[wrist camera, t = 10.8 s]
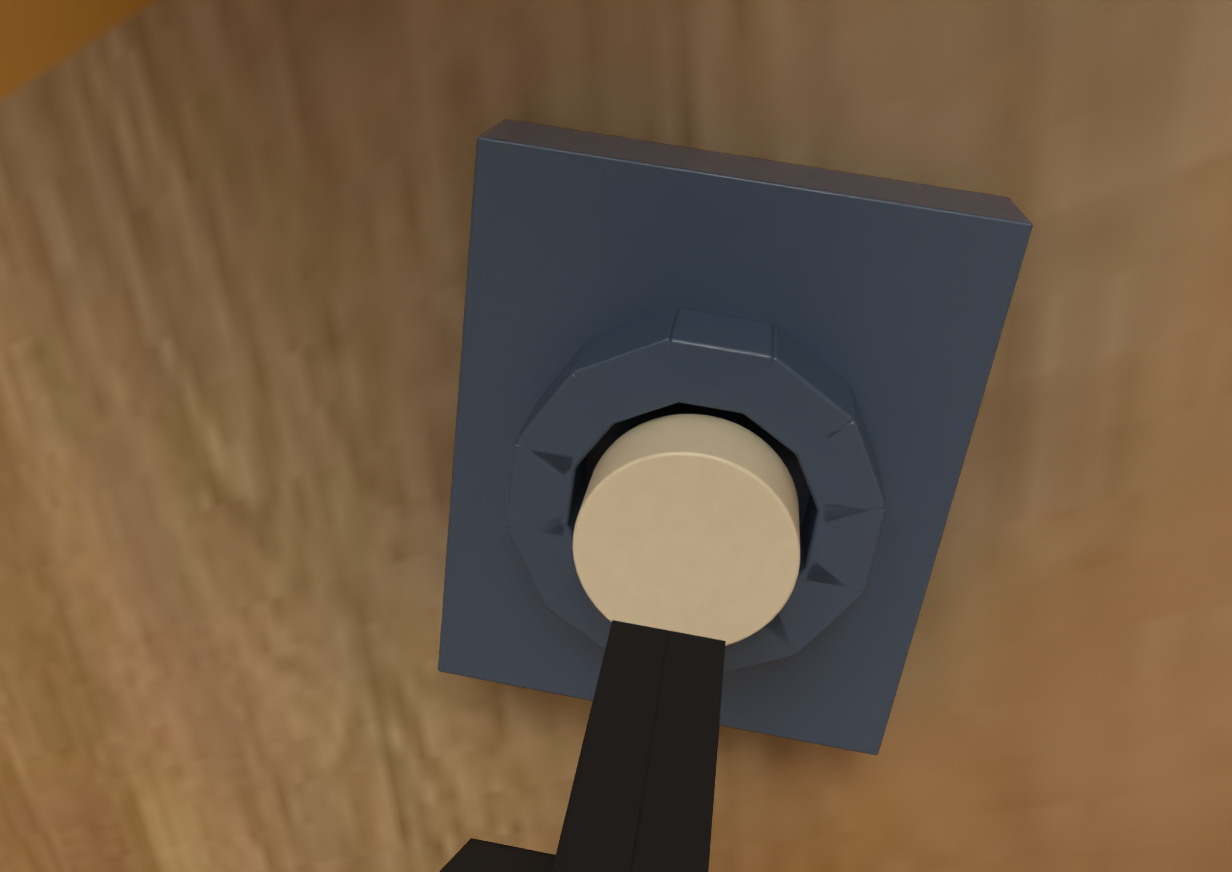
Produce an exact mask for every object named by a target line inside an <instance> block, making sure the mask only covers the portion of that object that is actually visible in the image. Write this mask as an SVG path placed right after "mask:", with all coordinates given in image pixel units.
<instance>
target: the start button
mask: <svg viewBox="0 0 1232 872" xmlns="http://www.w3.org/2000/svg"><path fill="white" fill-rule="evenodd" d="M572 548H573V558H574V563H575V567H576V571H577V574H578V577H579V579H580V582H581V584H582V586H583V588H584V590H585V592H586V593H587V595H588V597H589V598H590V600H591V601H592V602H593V604H594V605H595V606H596V608H597V609H598V610H599V611H600V612H601V613H602V614H603V615H604V616H605V617H606V618H607V619H608V620H610V621H611V622H612V620H615V621H620V622H626V623H631V624H637V625H642V626H648V627H653V628H658V629H664V630H669V631H675V632H680V633H685V634H691V635H696V636H702V637H707V638H713V639H718V640H723V641H726V643H725V646H727V645H730V644H733V643H736V642H738V641H740V640H743V639H745V638H747V637H749V636H751V635H752V634H754V633H756V632H757V631H759V630H760V629H762V628H763V627H764V626H765V625H766V624H768V623H769V622H770V621H771V620H772V619H773V618H774V617H775V616H776V615H777V614H778V613H779V612H780V611H781V609H782V608H783V606H784V605H785V604H786V602H787V601H788V599H789V597H790V595H791V593H792V591H793V589H794V587H795V584H796V580H797V577H798V573H799V566H800V527H799V503H798V497H797V492H796V488H795V485H794V482H793V479H792V477H791V475H790V473H789V471H788V469H787V467H786V466H785V464H784V463H783V461H782V460H781V458H780V457H779V456H778V454H777V453H776V452H775V451H774V450H773V449H772V448H771V447H770V446H769V445H768V444H767V443H766V442H765V441H764V440H762V439H761V438H760V437H758V436H757V435H756V434H754V433H753V432H751V431H750V430H748V429H746V428H744V427H742V426H740V425H738V424H736V423H733V422H731V421H728V420H725V419H722V418H718V417H714V416H710V415H701V414H675V415H668V416H663V417H659V418H655V419H652V420H649V421H647V422H644V423H642V424H639V425H638V426H636V427H634V428H632V429H630V430H629V431H627V432H626V433H624V434H623V435H622V436H620V437H619V438H618V439H617V440H616V441H615V442H614V443H613V444H612V445H611V446H610V447H609V448H608V449H607V450H606V451H605V453H604V454H603V455H602V457H601V458H600V460H599V462H598V463H597V465H596V467H595V469H594V471H593V474H592V477H591V480H590V482H589V485H588V488H587V491H586V494H585V496H584V499H583V502H582V505H581V508H580V511H579V513H578V516H577V519H576V522H575V527H574V532H573V545H572Z"/></svg>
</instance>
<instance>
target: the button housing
mask: <svg viewBox="0 0 1232 872" xmlns="http://www.w3.org/2000/svg"><path fill="white" fill-rule="evenodd" d="M1032 227H1033V226H1032V223H1031V222H1030V221H1029V220H1028V219H1027V217H1026V216H1025V215H1024V214H1023V213H1022V212H1021V211H1020V209H1019V208H1018V207H1017V206H1016V205H1015V204H1014V203H1013V202H1012V200H1011V199H1010V198H1008V197H1002V196H995V195H989V194H982V193H976V192H970V191H963V190H957V189H950V188H944V187H937V186H931V185H925V184H918V183H912V182H905V181H899V180H893V179H886V178H880V177H873V176H867V175H860V174H854V173H848V172H841V171H835V170H828V169H822V168H816V167H809V166H803V165H796V164H790V163H783V162H777V161H771V160H764V159H758V158H751V157H745V156H739V155H732V154H726V153H719V152H713V151H706V150H700V149H694V148H687V147H681V146H674V145H668V144H662V143H655V142H649V141H642V140H636V139H629V138H623V137H617V136H610V135H604V134H597V133H591V132H585V131H578V130H572V129H565V128H559V127H552V126H546V125H540V124H533V123H527V122H520V121H514V120H508V119H505V120H503V121H502V122H500V123H498V124H497V125H495V126H494V127H492V128H491V129H489V130H488V131H486V132H485V133H483V134H482V135H480V136H478V138H477V145H476V159H475V172H474V186H473V200H472V213H471V227H470V241H469V254H468V268H467V281H466V295H465V309H464V322H463V336H462V350H461V363H460V377H459V391H458V404H457V418H456V431H455V445H454V459H453V472H452V486H451V500H450V513H449V527H448V540H447V554H446V568H445V581H444V595H443V609H442V622H441V636H440V650H439V663H438V670H439V671H440V672H446V673H451V674H456V675H461V676H466V677H472V678H477V679H482V680H487V681H492V682H498V683H503V684H508V685H513V686H518V687H524V688H529V689H534V690H539V691H544V692H550V693H555V694H560V695H565V696H570V697H576V698H581V699H586V700H591V701H593V699H594V694H595V690H596V686H597V682H598V678H599V674H600V669H601V665H602V661H603V657H604V653H605V648H606V644H607V640H608V636H609V632H610V628H611V623H612V622H611V621H610V620H608V619H607V618H606V617H605V616H604V615H603V614H602V613H601V612H600V611H599V610H598V609H597V608H596V606H595V605H594V604H593V602H592V601H591V600H590V598H589V597H588V595H587V593H586V592H585V590H584V588H583V586H582V584H581V582H580V579H579V577H578V574H577V571H576V567H575V563H574V558H573V548H572V545H573V532H574V527H575V522H576V519H577V516H578V513H579V511H580V508H581V505H582V502H583V499H584V496H585V494H586V491H587V488H588V485H589V482H590V480H591V477H592V474H593V471H594V469H595V467H596V465H597V463H598V462H599V460H600V458H601V457H602V455H603V454H604V453H605V451H606V450H607V449H608V448H609V447H610V446H611V445H612V444H613V443H614V442H615V441H616V440H617V439H618V438H619V437H620V436H622V435H623V434H624V433H626V432H627V431H629V430H630V429H632V428H634V427H636V426H638V425H639V424H642V423H644V422H647V421H649V420H652V419H655V418H659V417H663V416H668V415H675V414H701V415H710V416H714V417H718V418H722V419H725V420H728V421H731V422H733V423H736V424H738V425H740V426H742V427H744V428H746V429H748V430H750V431H751V432H753V433H754V434H756V435H757V436H758V437H760V438H761V439H762V440H764V441H765V442H766V443H767V444H768V445H769V446H770V447H771V448H772V449H773V450H774V451H775V452H776V453H777V454H778V456H779V457H780V458H781V460H782V461H783V463H784V464H785V466H786V467H787V469H788V471H789V473H790V475H791V477H792V479H793V482H794V485H795V488H796V492H797V497H798V503H799V527H800V566H799V573H798V577H797V580H796V584H795V587H794V589H793V591H792V593H791V595H790V597H789V599H788V601H787V602H786V604H785V605H784V606H783V608H782V609H781V611H780V612H779V613H778V614H777V615H776V616H775V617H774V618H773V619H772V620H771V621H770V622H769V623H768V624H766V625H765V626H764V627H763V628H762V629H760V630H759V631H757V632H756V633H754V634H752V635H751V636H749V637H747V638H745V639H743V640H740V641H738V642H736V643H733V644H730V645H727V646H725V657H724V670H723V683H722V696H721V709H720V722H719V725H721V726H726V727H732V728H737V729H742V730H747V731H752V732H758V733H763V734H768V735H773V736H778V737H784V738H789V739H794V740H799V741H804V742H810V743H815V744H820V745H825V746H830V747H836V748H841V749H846V750H851V751H856V752H862V753H867V754H872V755H877V754H878V753H879V749H880V746H881V743H882V739H883V736H884V732H885V729H886V725H887V722H888V719H889V715H890V712H891V708H892V705H893V702H894V698H895V695H896V691H897V688H898V684H899V681H900V678H901V674H902V671H903V667H904V664H905V661H906V657H907V654H908V650H909V647H910V643H911V640H912V637H913V633H914V630H915V626H916V623H917V620H918V616H919V613H920V609H921V606H922V602H923V599H924V596H925V592H926V589H927V585H928V582H929V579H930V575H931V572H932V568H933V565H934V561H935V558H936V555H937V551H938V548H939V544H940V541H941V538H942V534H943V531H944V527H945V524H946V520H947V517H948V514H949V510H950V507H951V503H952V500H953V497H954V493H955V490H956V486H957V483H958V479H959V476H960V473H961V469H962V466H963V462H964V459H965V456H966V452H967V449H968V445H969V442H970V438H971V435H972V432H973V428H974V425H975V421H976V418H977V415H978V411H979V408H980V404H981V401H982V397H983V394H984V391H985V387H986V384H987V380H988V377H989V374H990V370H991V367H992V363H993V360H994V356H995V353H996V350H997V346H998V343H999V339H1000V336H1001V333H1002V329H1003V326H1004V322H1005V319H1006V315H1007V312H1008V309H1009V305H1010V302H1011V298H1012V295H1013V292H1014V288H1015V285H1016V281H1017V278H1018V274H1019V271H1020V268H1021V264H1022V261H1023V257H1024V254H1025V251H1026V247H1027V244H1028V240H1029V237H1030V233H1031V230H1032Z"/></svg>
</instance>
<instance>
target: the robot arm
mask: <svg viewBox="0 0 1232 872" xmlns="http://www.w3.org/2000/svg"><path fill="white" fill-rule="evenodd" d="M725 643H726V641H723V640H718V639H713V638H707V637H702V636H696V635H691V634H685V633H680V632H675V631H669V630H664V629H658V628H653V627H648V626H642V625H637V624H631V623H626V622H620V621H615V620H612V623H611V628H610V632H609V636H608V640H607V644H606V648H605V653H604V657H603V661H602V665H601V669H600V674H599V678H598V682H597V686H596V690H595V694H594V699H593V703H592V707H591V711H590V715H589V719H588V724H587V728H586V732H585V736H584V740H583V744H582V749H581V753H580V757H579V761H578V765H577V770H576V774H575V778H574V782H573V786H572V790H571V795H570V799H569V803H568V807H567V811H566V815H565V820H564V824H563V828H562V832H561V836H560V840H559V845H558V849H557V853H556V855H553V854H548V853H543V852H538V851H533V850H528V849H523V848H518V847H513V846H508V845H503V844H498V843H493V842H488V841H483V840H478V839H473V838H471V839H470V840H469V841H468V842H467V843H466V844H465V845H464V846H463V847H462V849H461V850H460V851H459V852H458V853H457V854H456V855H455V856H454V857H453V858H452V859H451V860H450V861H449V862H448V863H447V864H446V865H445V866H444V867H443V868H442V869H441V870H440V872H708V867H709V854H710V841H711V828H712V815H713V802H714V788H715V775H716V762H717V749H718V736H719V722H720V709H721V696H722V683H723V670H724V657H725Z"/></svg>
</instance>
